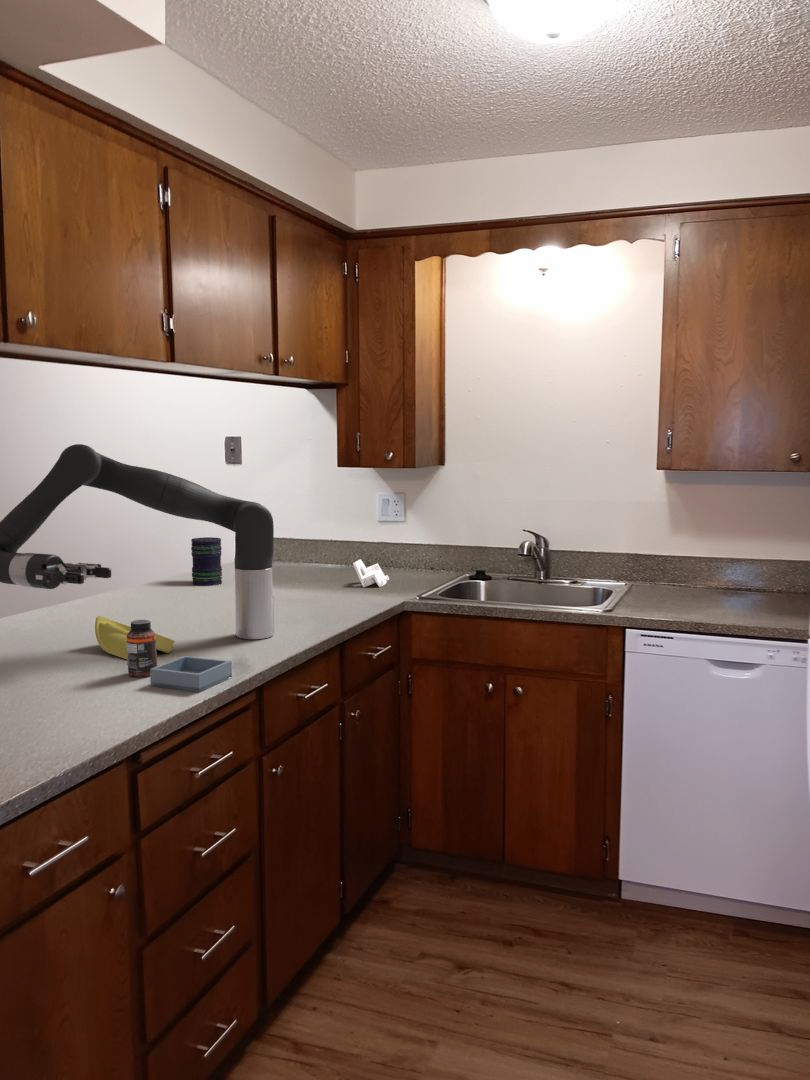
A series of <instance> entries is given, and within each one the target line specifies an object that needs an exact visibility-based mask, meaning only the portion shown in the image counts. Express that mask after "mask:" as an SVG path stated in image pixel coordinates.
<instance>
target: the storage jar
mask: <svg viewBox="0 0 810 1080" xmlns="http://www.w3.org/2000/svg"><path fill="white" fill-rule="evenodd" d="M190 545H191V556H192V567H191V577H192V578H191V580H192V582H191V583H192V585H193V586H197V587H213V585H214V586H220V585H222V583H223V581H222V579H223V577H222V576H223V567H222V560H221V559H222V558H221V557H222V538H221V537H211V536H210V537H206V536H205V537H195V538H191V544H190ZM219 584H220V585H219Z"/></svg>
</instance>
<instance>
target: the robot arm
mask: <svg viewBox="0 0 810 1080" xmlns="http://www.w3.org/2000/svg"><path fill="white" fill-rule="evenodd" d="M82 486H85V487H91V488H93V489H95V488H96V489H99V490H104V491H108V492H112V493H114V494H118V495H120V496H123V498H124V497H125V498H126V499H128V500H131V501H133V502H135V503H138V504H140V505H142V506H144V507H147V508H150V509H152V510H155V511H159V512H161V513H166V514H168V515H172V516H175V517H179V518H184V519H190V520H196V521H197V520H198V521H202V522H203V521H204V522H208V523H212V524H215V525H218V526H220V527H222V528H224V529H228V531H232V532H234V534H235V537H234V538H235V545H234V546H235V552H234V553H235V554H234V597H235V598H234V604H235V607H234V608H235V613H234V614H235V637H236V636H237V637H236V638H238V637H239V639H242V638H243V640H262V639H268V638H271V637H273V635H274V633H275V597H274V595H273V593H274V592H273V590H274V589H273V558H274V540H275V537H274V529H275V528H274V518H273V514H272V513H271V512H270V510H269V509H268V508H267V507H265V506H264V505H262V504H261V503H259V502H255V501H248V500H243V499H240V498H239V499H238V498H234V497H231V496H227V495H223V494H220V493H218V492H215V491H212V490H211V489H209V488H206V487H204V486H202V485H200V484H197V483H195V482H193V481H191V480H188V479H187V478H183V477H180V476H177V475H173V474H172V473H169V472H166V471H165V472H164V471H161V470H157V469H153V468H147V467H142V466H137V465H131V464H127V463H123V462H120V461H118V460H114V459H113V458H110V457H107V456H105V455H104V454H102V453H99V452H96V450H95V449H94V448H92V447H91V446H89V445H86V444H82V443H78V444H77V443H75V444H73V445H72V444H71V445H69V446H67V447H66V448H65V449H64V450H62V452H61V453H60V455H59V457H58V459H57V461H55V463H54V465H53V466H52V468H51V469H50V471H48V473H47V474H46V475H45V476H44V478H43V479H42V480H41V482H39V484H38V485H37V486H36V487H35V488H34V489H33V490H32V491H31V492H30V493H29V494H27V495H26V496H25V498H24V499H22V500H21V501H20V502H19V503H18V504H17V505H16V506H15V507H14V508H13V509H11V510H10V512H8V514H6V515H5V517H3V519H1V520H0V583H2V584H5V585H16V586H22V587H26V588H34V589H35V588H36V589H44V590H45V589H46V590H55V589H56V588H58V587H59V586H60V585H67V584H72V585H73V584H76V585H82V584H84V583H85V581H86V580H87V578H95V579H96V578H100V579H111V578H112V569H111V567H104V566H102V564H101V563H85V562H78V563H73V562H64V561H63V559H62V558H61V557H60V556H58V555H57V554H50V553H40V552H39V553H37V552H25V553H24V552H23V553H22V552H18V550H19V549H20V548H22V546H23V545H24V544H25V543H26V542H28V541H29V539H30V538H31V537H33V535H34V534H35V533H36V532H37V531H38V530H39V529H40V527H41V526H42V525H43V524H44V523H45V521H47V519H48V518H49V517H50V515H51V514H52V513H53V512H54V511H55V510H56V509H57V508H58V507H59V505H60V504H61V503H63V501H65V500H66V498H68V497H69V496H70V495H72V494H73V493H74V492H75V491H78V489H79V488H81V487H82Z"/></svg>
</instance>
